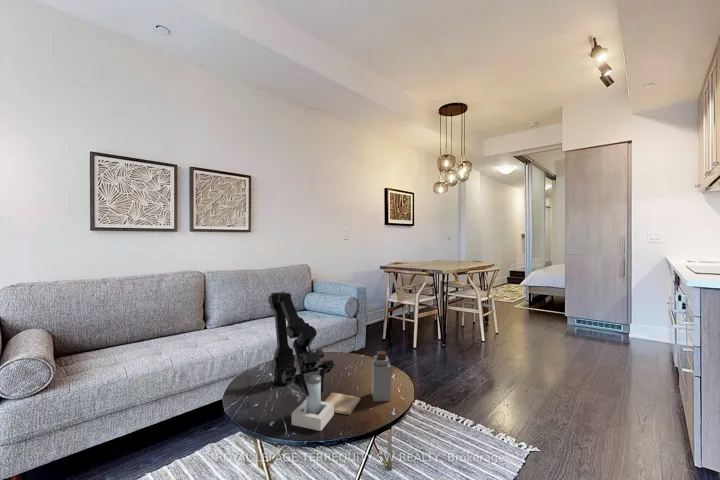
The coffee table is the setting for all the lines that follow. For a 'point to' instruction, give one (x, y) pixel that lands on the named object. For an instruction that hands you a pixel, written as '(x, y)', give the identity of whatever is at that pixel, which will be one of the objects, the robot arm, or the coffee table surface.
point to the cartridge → (313, 394)
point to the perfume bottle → (381, 377)
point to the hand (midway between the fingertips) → (315, 394)
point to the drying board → (343, 402)
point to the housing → (313, 416)
